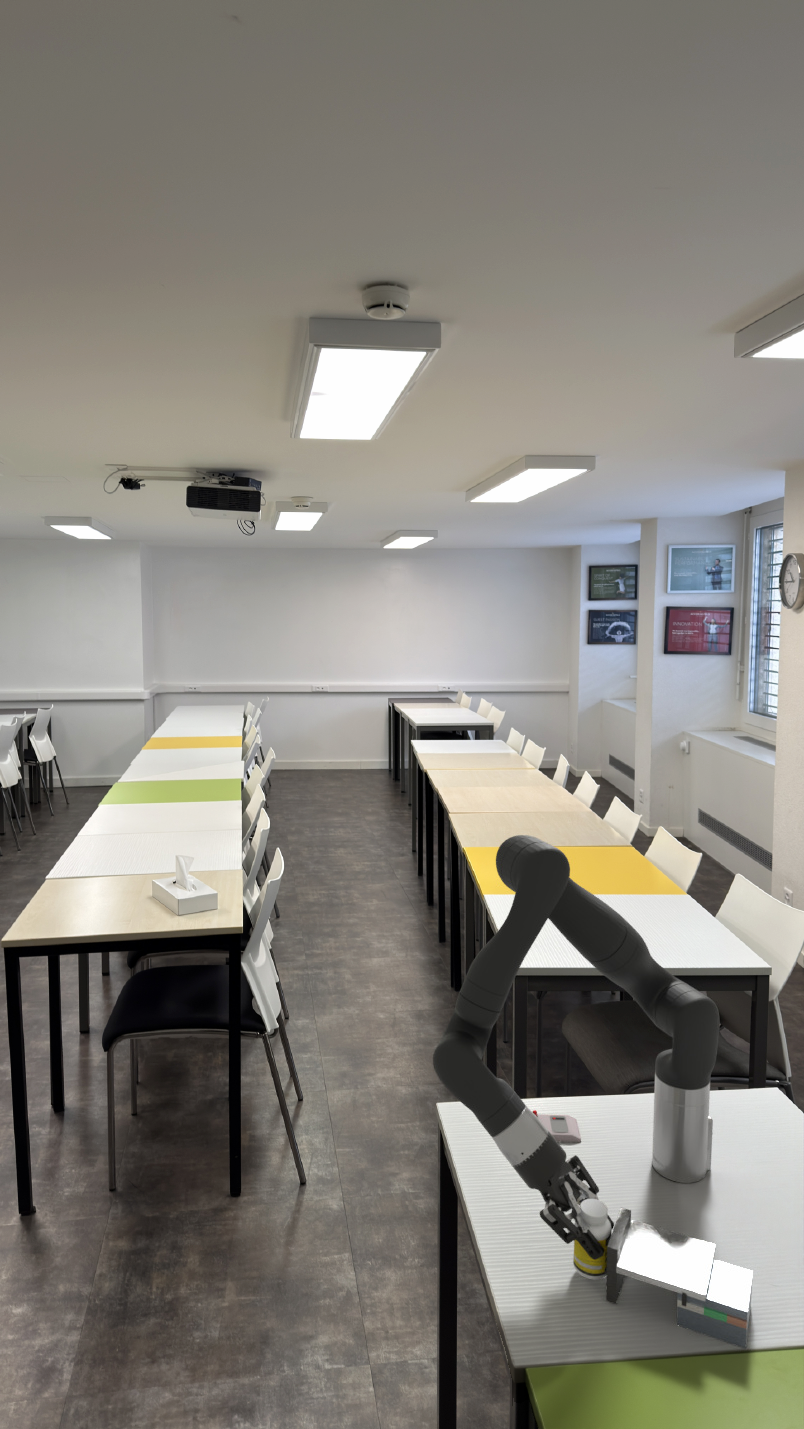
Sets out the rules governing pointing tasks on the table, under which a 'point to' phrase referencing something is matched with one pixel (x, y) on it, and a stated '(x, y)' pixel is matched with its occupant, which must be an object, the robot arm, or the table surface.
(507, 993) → the robot arm
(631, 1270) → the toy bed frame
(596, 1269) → the supplement bottle
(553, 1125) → the electrical tester
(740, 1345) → the gauge housing
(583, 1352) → the table surface
